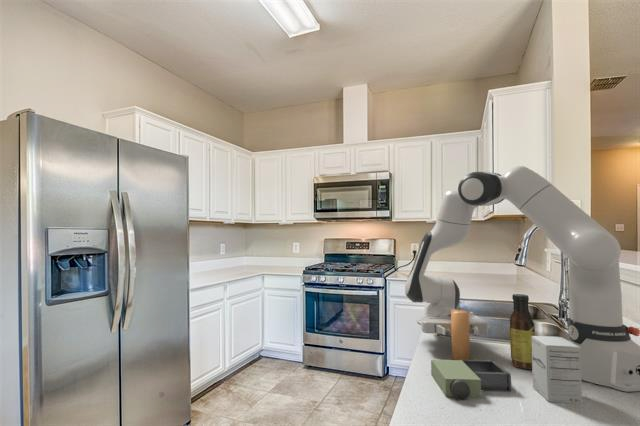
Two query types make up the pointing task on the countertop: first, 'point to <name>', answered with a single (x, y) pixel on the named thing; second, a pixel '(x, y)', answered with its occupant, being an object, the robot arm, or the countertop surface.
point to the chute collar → (490, 375)
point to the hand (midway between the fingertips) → (461, 332)
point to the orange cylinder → (460, 335)
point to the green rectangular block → (456, 379)
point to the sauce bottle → (521, 332)
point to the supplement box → (557, 369)
